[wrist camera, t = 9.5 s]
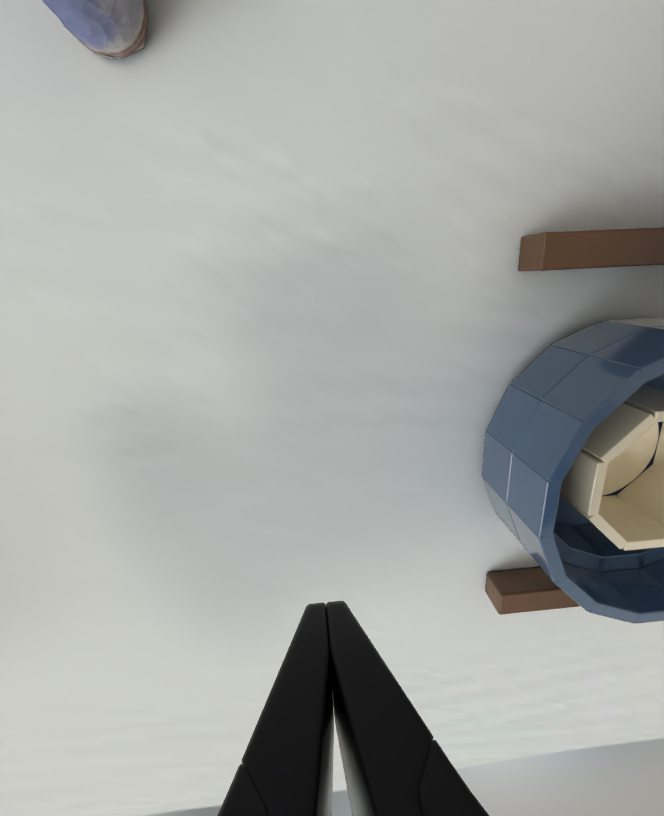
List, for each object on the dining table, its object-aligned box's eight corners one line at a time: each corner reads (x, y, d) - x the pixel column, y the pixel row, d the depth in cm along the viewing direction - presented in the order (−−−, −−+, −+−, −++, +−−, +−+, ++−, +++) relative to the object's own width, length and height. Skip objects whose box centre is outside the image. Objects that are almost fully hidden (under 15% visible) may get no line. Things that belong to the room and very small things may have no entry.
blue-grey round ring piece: (739, 310, 16) (915, 324, 11) (677, 529, 19) (793, 607, 15) (488, 324, 15) (568, 345, 11) (469, 549, 19) (524, 636, 14)
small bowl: (672, 377, 16) (765, 403, 13) (644, 494, 18) (720, 541, 15) (544, 387, 16) (607, 415, 13) (529, 504, 18) (580, 555, 14)
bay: (820, 224, 15) (875, 218, 14) (707, 568, 20) (738, 590, 19) (520, 236, 14) (544, 232, 13) (484, 591, 20) (498, 615, 18)
